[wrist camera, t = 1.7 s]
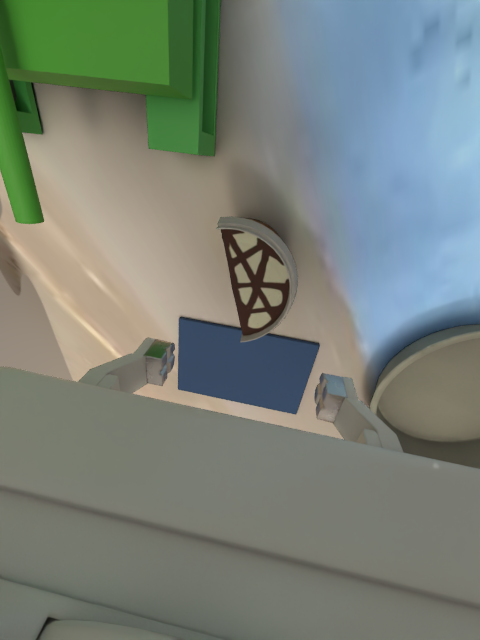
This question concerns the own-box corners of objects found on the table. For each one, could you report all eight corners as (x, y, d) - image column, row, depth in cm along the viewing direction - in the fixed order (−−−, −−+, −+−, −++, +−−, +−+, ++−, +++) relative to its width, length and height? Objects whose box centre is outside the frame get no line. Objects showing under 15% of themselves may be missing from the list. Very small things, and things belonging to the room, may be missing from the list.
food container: (299, 299, 35) (303, 343, 26) (252, 303, 36) (241, 346, 28) (291, 195, 29) (292, 208, 21) (235, 205, 31) (214, 221, 22)
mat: (319, 343, 38) (319, 345, 37) (296, 411, 45) (296, 414, 44) (180, 316, 39) (178, 318, 39) (179, 387, 46) (177, 389, 46)
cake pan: (610, 301, 30) (658, 322, 26) (534, 448, 41) (559, 477, 37) (366, 318, 35) (375, 337, 31) (359, 444, 46) (366, 469, 43)
